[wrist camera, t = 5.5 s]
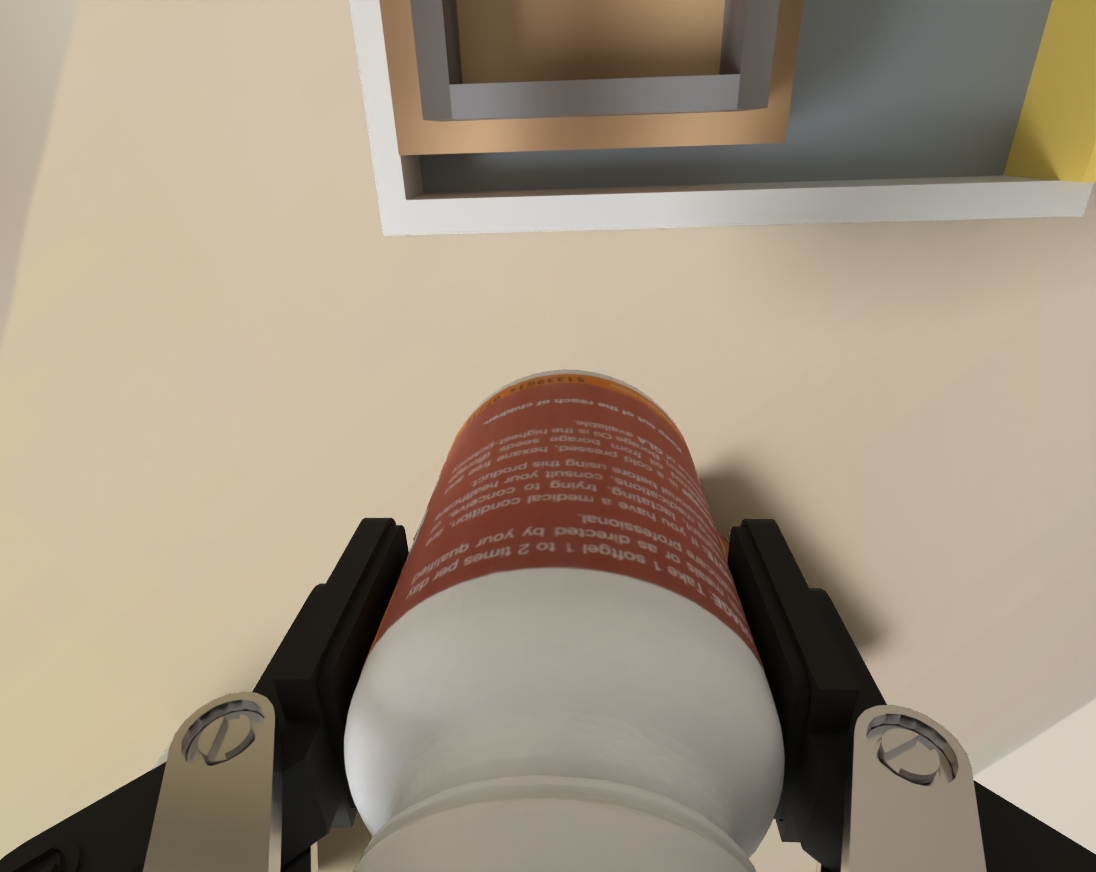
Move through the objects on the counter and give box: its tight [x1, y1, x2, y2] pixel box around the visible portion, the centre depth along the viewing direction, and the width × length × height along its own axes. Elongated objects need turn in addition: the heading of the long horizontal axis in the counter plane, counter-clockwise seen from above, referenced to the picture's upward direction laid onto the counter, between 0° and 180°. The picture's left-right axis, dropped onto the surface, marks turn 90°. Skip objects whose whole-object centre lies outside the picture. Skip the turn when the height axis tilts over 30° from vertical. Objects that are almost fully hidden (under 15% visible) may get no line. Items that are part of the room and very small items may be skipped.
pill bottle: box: [344, 370, 785, 872], centre depth 11 cm, size 6×6×11 cm
